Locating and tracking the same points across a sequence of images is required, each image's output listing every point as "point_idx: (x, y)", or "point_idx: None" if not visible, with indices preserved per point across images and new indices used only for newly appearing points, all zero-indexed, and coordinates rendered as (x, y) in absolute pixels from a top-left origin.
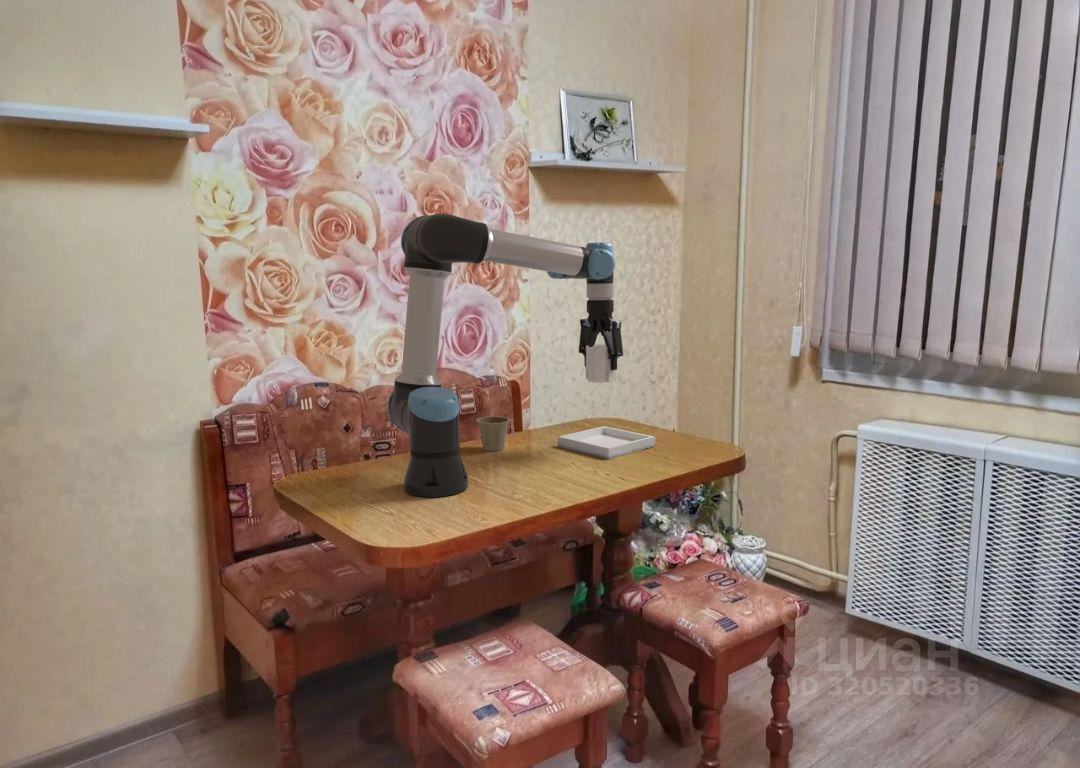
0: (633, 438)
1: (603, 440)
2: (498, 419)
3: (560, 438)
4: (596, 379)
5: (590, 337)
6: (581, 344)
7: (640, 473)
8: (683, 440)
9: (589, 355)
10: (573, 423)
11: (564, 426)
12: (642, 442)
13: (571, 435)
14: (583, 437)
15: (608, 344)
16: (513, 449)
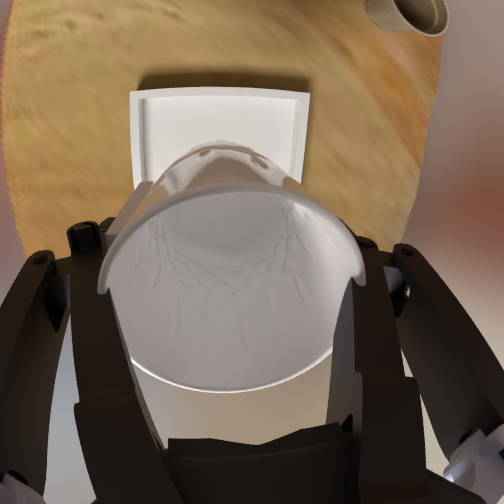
0: None
1: None
2: (431, 33)
3: (298, 92)
4: (192, 148)
5: (363, 348)
6: (424, 280)
7: (36, 79)
8: None
9: (245, 163)
10: None
11: (389, 239)
12: None
13: (297, 131)
14: (290, 168)
15: (75, 313)
16: (355, 24)
